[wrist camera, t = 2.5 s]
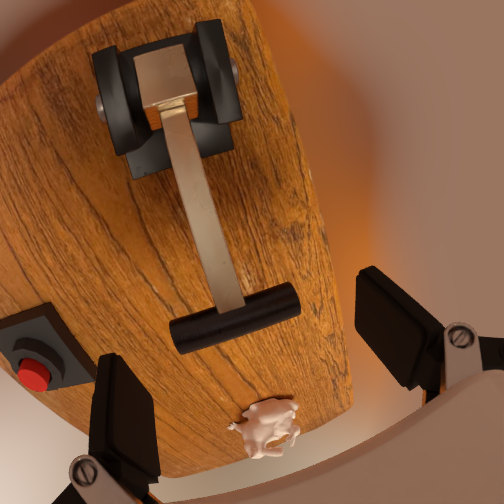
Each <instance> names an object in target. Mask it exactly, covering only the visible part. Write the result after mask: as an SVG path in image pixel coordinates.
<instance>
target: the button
mask: <svg viewBox="0 0 504 504" xmlns="http://www.w3.org/2000/svg"><path fill="white" fill-rule="evenodd" d="M18 378H19V380H20V381H21V382H22V383H23V384H24V385H25V386H26V387H28V388H30V389H32V390H34V391H38V392H43V391H45V390H47V387H48V383H49V379H50V371H49V370H48V369H47V368H46V366H45V365H43V364H42V363H40V362H38V361H37V360H35V359H31V358H24V359H23V360H22V362H21V365H20V368H19V371H18Z"/></svg>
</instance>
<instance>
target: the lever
mask: <svg viewBox="0 0 504 504" xmlns="http://www.w3.org/2000/svg"><path fill="white" fill-rule="evenodd" d="M133 65H134V71H135V76H136V82H137V87H138V92H139V97H140V102H141V107H142V110H143V112H144V114H145V117H146V119H147V121H148V124H149V126H150V128H151V130H157V129H160V128H162V129H163V133H164V137H165V141H166V145H167V148H168V152H169V156H170V160H171V164H172V167H173V171H174V175H175V178H176V182H177V185H178V189H179V192H180V196H181V199H182V203H183V206H184V210H185V213H186V216H187V220H188V223H189V226H190V230H191V233H192V236H193V239H194V243H195V246H196V249H197V252H198V255H199V258H200V261H201V265H202V268H203V271H204V274H205V277H206V280H207V283H208V286H209V289H210V292H211V295H212V298H213V300H214V303H215V306H214V307H211V308H208V309H205V310H202V311H199V312H196V313H193V314H189V315H186V316H183V317H180V318H177V319H173V320H171V321H170V322H169V329H170V333H171V337H172V340H173V343H174V345H175V347H176V349H177V351H178V352H179V353H180V354H181V355H183V354H187V353H190V352H193V351H197V350H200V349H203V348H206V347H210V346H213V345H216V344H219V343H222V342H225V341H228V340H231V339H234V338H237V337H240V336H243V335H246V334H249V333H252V332H255V331H258V330H261V329H263V328H266V327H269V326H272V325H274V324H277V323H280V322H282V321H285V320H288V319H290V318H293V317H296V316H298V315H300V314H301V305H300V301H299V298H298V295H297V293H296V291H295V289H294V287H293V285H292V284H291V283H290V282H285V283H282V284H279V285H276V286H274V287H271V288H268V289H265V290H262V291H259V292H256V293H253V294H250V295H248V296H245V297H244V296H243V293H242V290H241V287H240V284H239V281H238V278H237V275H236V272H235V268H234V265H233V262H232V259H231V256H230V253H229V249H228V246H227V243H226V240H225V237H224V233H223V230H222V227H221V224H220V220H219V217H218V214H217V211H216V207H215V204H214V201H213V197H212V194H211V191H210V188H209V184H208V181H207V177H206V174H205V171H204V167H203V164H202V161H201V157H200V154H199V150H198V147H197V143H196V140H195V136H194V133H193V129H192V126H191V122H190V119H194V118H197V117H198V116H199V91H198V88H197V85H196V81H195V78H194V75H193V72H192V68H191V65H190V62H189V58H188V55H187V52H186V48H185V45H184V44H178V45H173V46H169V47H166V48H162V49H158V50H155V51H151V52H148V53H144V54H141V55H138V56H135V57H133Z"/></svg>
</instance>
